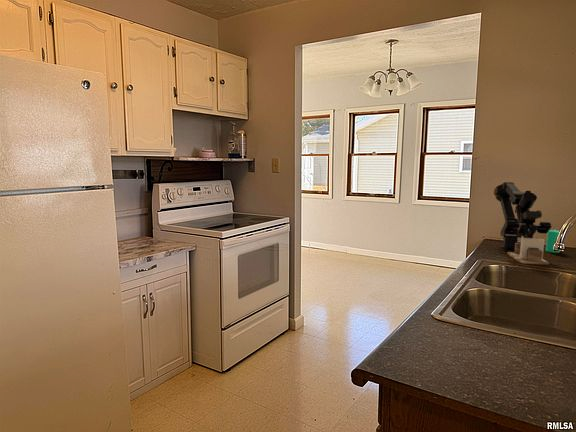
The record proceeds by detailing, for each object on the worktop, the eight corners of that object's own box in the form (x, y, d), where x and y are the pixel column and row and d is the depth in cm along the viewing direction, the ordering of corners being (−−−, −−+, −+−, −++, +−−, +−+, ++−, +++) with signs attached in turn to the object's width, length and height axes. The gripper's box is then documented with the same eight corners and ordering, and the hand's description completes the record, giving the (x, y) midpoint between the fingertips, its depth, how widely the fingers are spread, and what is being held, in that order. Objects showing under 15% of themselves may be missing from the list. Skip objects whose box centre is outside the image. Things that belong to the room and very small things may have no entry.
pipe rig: (507, 253, 192) (508, 242, 191) (532, 255, 190) (533, 243, 189) (521, 263, 174) (522, 250, 173) (548, 264, 172) (550, 251, 171)
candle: (555, 250, 202) (558, 227, 200) (562, 252, 196) (565, 229, 194) (543, 249, 202) (545, 226, 201) (549, 252, 196) (552, 228, 195)
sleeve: (519, 257, 180) (521, 237, 178) (540, 258, 178) (542, 238, 177) (522, 258, 177) (524, 239, 175) (543, 259, 175) (545, 240, 174)
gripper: (507, 203, 183) (514, 230, 174) (552, 204, 180) (561, 232, 170) (500, 217, 192) (506, 244, 183) (542, 219, 188) (550, 246, 179)
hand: (530, 242), depth 179 cm, fingers closed
